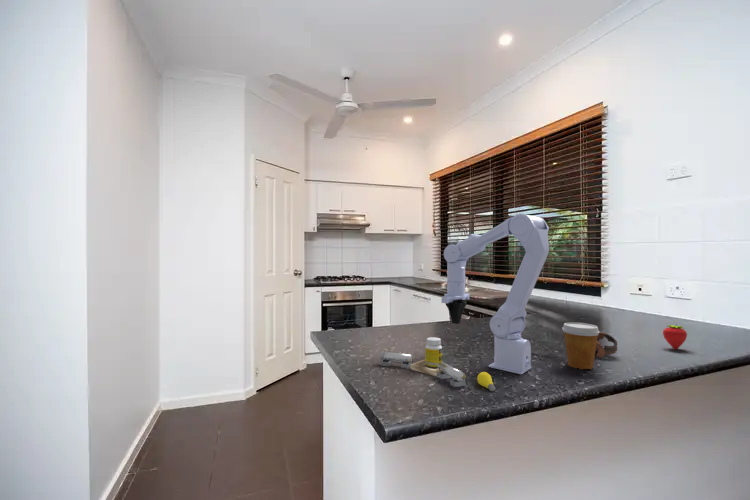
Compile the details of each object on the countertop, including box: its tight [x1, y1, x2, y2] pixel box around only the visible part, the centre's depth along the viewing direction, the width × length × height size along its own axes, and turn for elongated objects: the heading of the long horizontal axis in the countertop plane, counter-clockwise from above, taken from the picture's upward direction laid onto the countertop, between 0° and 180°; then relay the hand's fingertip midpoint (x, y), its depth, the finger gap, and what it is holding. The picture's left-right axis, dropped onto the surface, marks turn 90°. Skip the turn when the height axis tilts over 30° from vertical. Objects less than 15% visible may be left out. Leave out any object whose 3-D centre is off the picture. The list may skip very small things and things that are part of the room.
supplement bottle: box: [424, 336, 443, 370], centre depth 102 cm, size 5×5×8 cm
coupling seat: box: [410, 358, 441, 377], centre depth 100 cm, size 8×7×1 cm
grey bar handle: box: [379, 351, 413, 370], centre depth 104 cm, size 9×3×4 cm, turn 72°
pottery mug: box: [595, 331, 618, 359], centre depth 118 cm, size 12×10×8 cm
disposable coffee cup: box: [561, 322, 601, 370], centre depth 105 cm, size 10×10×12 cm
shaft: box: [436, 361, 467, 388], centre depth 91 cm, size 9×3×4 cm, turn 22°
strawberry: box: [662, 320, 688, 350], centre depth 125 cm, size 6×8×10 cm
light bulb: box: [476, 371, 496, 392], centre depth 87 cm, size 3×6×4 cm, turn 14°
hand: (455, 323), depth 117 cm, fingers closed
